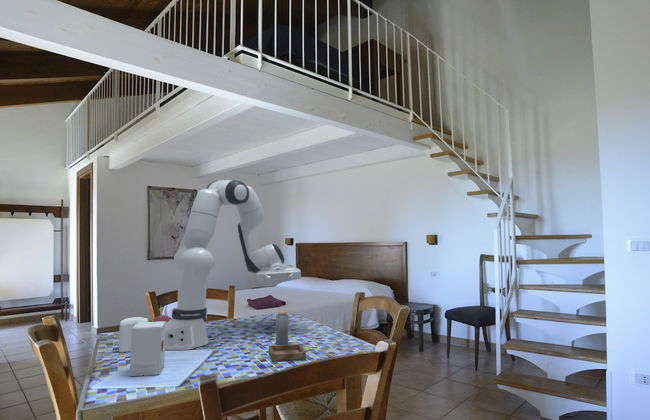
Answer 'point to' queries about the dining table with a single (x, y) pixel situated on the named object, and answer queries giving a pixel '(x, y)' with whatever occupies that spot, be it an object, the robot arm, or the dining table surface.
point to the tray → (287, 352)
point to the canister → (282, 327)
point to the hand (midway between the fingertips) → (279, 278)
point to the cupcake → (161, 317)
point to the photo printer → (127, 332)
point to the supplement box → (147, 348)
